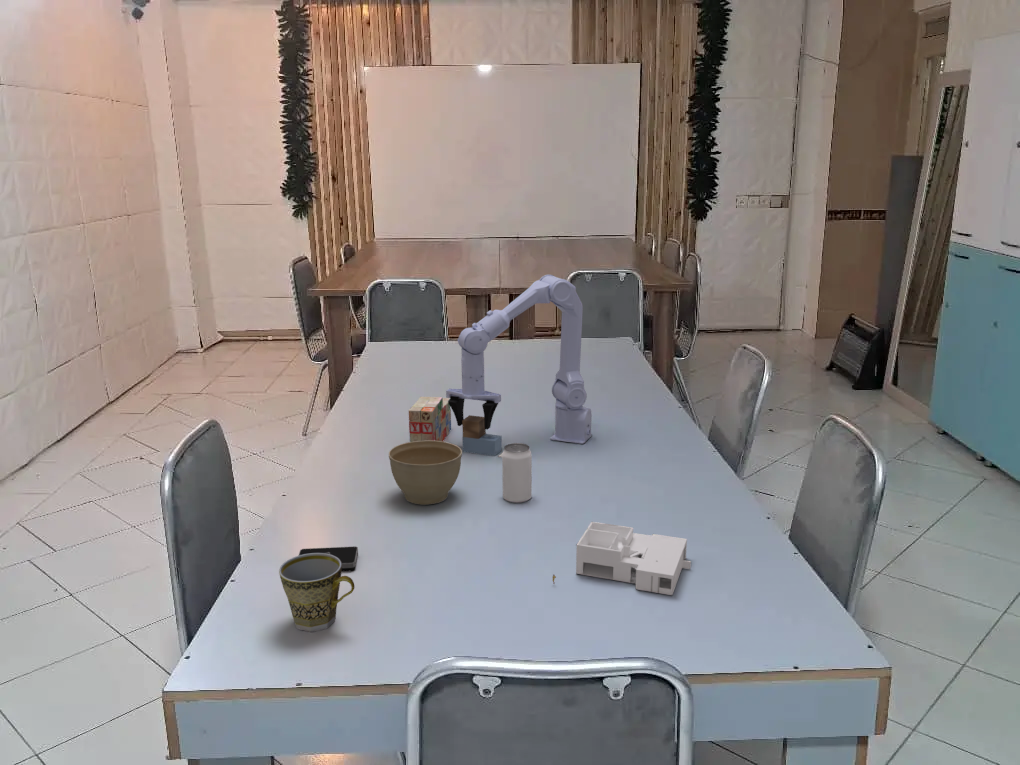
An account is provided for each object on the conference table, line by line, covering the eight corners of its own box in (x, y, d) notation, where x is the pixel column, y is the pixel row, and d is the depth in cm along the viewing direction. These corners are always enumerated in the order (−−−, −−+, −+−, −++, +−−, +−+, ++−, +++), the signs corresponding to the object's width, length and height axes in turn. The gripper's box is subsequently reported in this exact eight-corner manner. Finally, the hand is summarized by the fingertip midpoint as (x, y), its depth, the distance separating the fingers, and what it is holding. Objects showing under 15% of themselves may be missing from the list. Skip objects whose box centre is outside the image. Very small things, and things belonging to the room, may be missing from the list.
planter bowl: (466, 509, 184) (465, 462, 181) (391, 514, 182) (389, 466, 179) (458, 481, 199) (458, 437, 197) (389, 486, 197) (387, 441, 194)
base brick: (501, 450, 220) (501, 434, 219) (494, 456, 216) (494, 440, 214) (470, 446, 223) (469, 430, 222) (462, 451, 219) (462, 435, 218)
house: (552, 585, 152) (552, 554, 150) (580, 541, 169) (580, 513, 167) (677, 607, 145) (679, 575, 143) (693, 559, 161) (695, 530, 160)
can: (510, 505, 186) (510, 454, 182) (497, 495, 191) (497, 445, 188) (536, 500, 189) (536, 449, 185) (522, 490, 194) (522, 440, 191)
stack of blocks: (429, 429, 237) (428, 386, 234) (451, 430, 236) (450, 387, 233) (409, 455, 217) (408, 409, 214) (433, 456, 216) (432, 410, 213)
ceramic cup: (271, 630, 138) (266, 575, 135) (306, 601, 147) (302, 548, 144) (340, 646, 134) (336, 589, 131) (372, 615, 143) (369, 561, 140)
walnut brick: (485, 433, 220) (485, 417, 219) (478, 438, 216) (478, 422, 215) (469, 431, 222) (469, 415, 221) (462, 436, 218) (462, 420, 217)
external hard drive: (355, 572, 157) (354, 563, 157) (294, 575, 157) (294, 565, 156) (358, 555, 164) (358, 546, 164) (300, 558, 163) (299, 548, 163)
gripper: (440, 376, 214) (441, 427, 217) (493, 382, 209) (493, 434, 212) (452, 370, 220) (453, 419, 224) (504, 375, 215) (504, 426, 218)
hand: (473, 426), depth 218 cm, fingers open, 7 cm apart
